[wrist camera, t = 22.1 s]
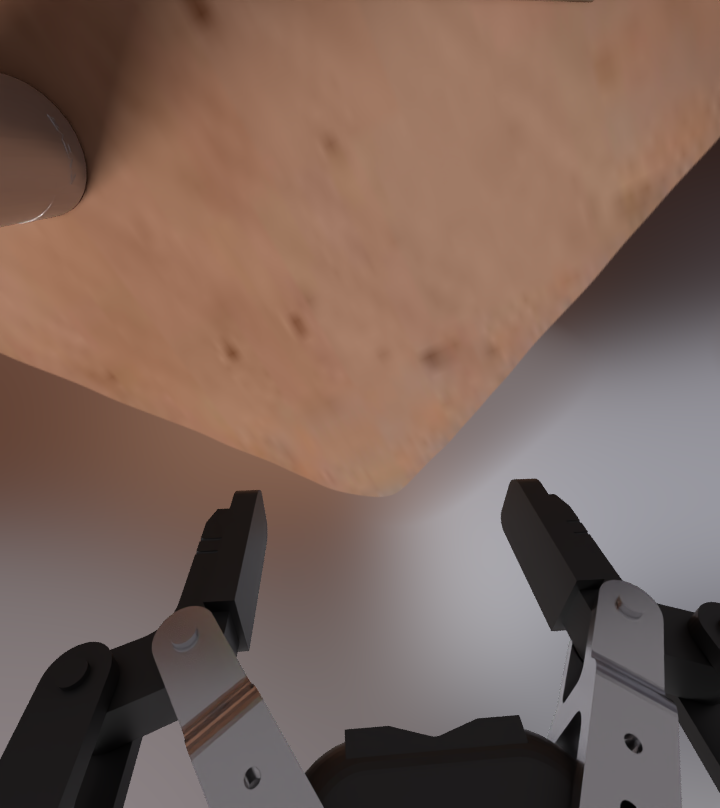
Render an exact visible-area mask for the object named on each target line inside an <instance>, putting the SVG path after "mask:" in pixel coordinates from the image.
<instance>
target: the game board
mask: <svg viewBox="0 0 720 808" xmlns="http://www.w3.org/2000/svg"><path fill="white" fill-rule="evenodd" d="M536 1H569V2H593V0H536Z"/></svg>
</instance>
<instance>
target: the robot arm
mask: <svg viewBox="0 0 720 808" xmlns="http://www.w3.org/2000/svg"><path fill="white" fill-rule="evenodd" d="M86 180H87V176H86V163H85V158H84V154H83V150H82V148H81V145H80V143H79V140H78V138H77V136H76V134H75V132H74V131H73V129H72V127H71V126H70V124H69V122H68V121H67V119H66V118H65V117H64V116H63V115H62V113H61V112H60V111H59V110H58V108H57V107H56V106H55V105H54V104H53V103H52V102H51V101H50V100H48V99H47V98H46V97H45V96H44V95H43V94H42V93H40V92H39V91H37V90H36V89H35V88H33V87H32V86H30V85H29V84H27V83H25V82H23V81H21V80H19V79H16V78H14V77H12V76H9V75H5V74H2V73H0V227H4V226H9V225H14V224H20V223H26V222H31V221H36V220H41V219H47V218H52V217H56V216H60V215H63V214H65V213H67V212H69V211H70V210H72V209H73V208H74V207H75V206H76V205H77V204H78V203H79V201H80V199H81V197H82V195H83V193H84V190H85V185H86ZM501 523H502V528H503V531H504V533H505V535H506V537H507V539H508V541H509V543H510V545H511V548H512V550H513V552H514V554H515V556H516V558H517V560H518V562H519V564H520V566H521V568H522V571H523V573H524V575H525V577H526V579H527V581H528V583H529V585H530V587H531V589H532V592H533V594H534V596H535V598H536V600H537V602H538V604H539V606H540V608H541V610H542V612H543V615H544V617H545V618H546V621H547V623H548V625H549V627H550V629H551V631H561V630H566V631H567V632H568V634H569V636H570V638H571V640H570V642H569V645H568V649H567V655H566V661H565V666H564V671H563V677H562V682H561V688H560V693H559V698H558V704H557V708H556V712H555V715H554V718H553V720H552V723H551V726H550V729H549V733H548V736H547V739H546V738H545V737H543V736H541V735H539V734H536V733H534V732H531V731H529V730H524V729H523V725H522V722H521V720H520V717H519V715H515V716H503V717H491V718H479V719H475V720H473V721H471V722H469V723H466V724H464V725H462V726H460V727H458V728H456V729H453V730H451V731H449V732H447V733H445V734H443V735H441V736H437V737H433V736H428V735H424V734H419V733H415V732H411V731H407V730H403V729H398V728H395V727H390V726H383V727H372V728H361V729H360V728H359V729H348V730H345V742H344V743H342V744H340V745H338V746H335V747H334V748H332V749H331V750H329V751H328V752H326V753H325V754H323V755H322V756H321V757H320V758H319V759H318V760H316V761H315V762H314V763H313V764H312V766H311V767H310V768H309V769H308V770H307V771H306V772H305V773H304V772H303V770H302V768H301V766H300V764H299V762H298V761H297V759H296V757H295V756H294V754H293V752H292V750H291V748H290V746H289V745H288V743H287V741H286V739H285V737H284V736H283V734H282V732H281V731H280V729H279V727H278V725H277V723H276V721H275V720H274V718H273V716H272V714H271V713H270V711H269V709H268V707H267V705H266V704H265V702H264V700H263V698H262V697H261V695H260V693H259V692H258V690H257V688H256V687H255V686H254V684H252V683H251V682H250V681H249V679H248V677H247V676H246V674H245V672H244V670H243V668H242V667H241V665H240V663H239V661H238V659H237V652H240V651H249V648H250V642H251V635H252V629H253V624H254V617H255V611H256V605H257V599H258V593H259V587H260V581H261V575H262V568H263V562H264V556H265V550H266V543H267V521H266V515H265V510H264V504H263V498H262V493H261V491H260V490H250V491H249V490H248V491H236V492H235V493H234V496H233V500H232V503H231V506H230V509H217V511H216V512H215V513H214V514H213V515H212V517H211V518H210V519H209V520H208V521H207V523H206V525H205V528H204V531H203V534H202V536H201V542H199V545H198V548H197V553H196V555H195V557H194V560H193V563H192V566H191V569H190V572H189V575H188V578H187V580H186V583H185V586H184V590H183V592H182V595H181V598H180V601H179V604H178V606H177V608H176V610H175V612H174V613H173V614H172V615H170V616H169V617H168V618H167V619H166V620H165V621H164V622H163V623H162V624H161V626H160V627H159V628H158V630H156V631H155V632H153V633H151V634H149V635H148V636H145V637H143V638H141V639H138V640H135V641H133V642H130V643H127V644H125V645H122V646H119V647H117V648H114V649H111V650H109V648H108V647H107V646H106V645H104V644H102V643H99V642H88V643H84V644H81V645H78V646H76V647H74V648H72V649H70V650H68V651H67V652H65V653H64V654H62V655H61V656H60V657H59V658H58V659H56V660H55V661H54V662H53V663H52V664H51V666H50V667H49V668H48V669H47V670H46V672H45V673H44V675H43V676H42V678H41V680H40V682H39V683H38V685H37V687H36V690H35V692H34V693H33V695H32V697H31V699H30V701H29V704H28V705H27V707H26V709H25V711H24V713H23V715H22V717H21V719H20V721H19V723H18V725H17V727H16V729H15V731H14V733H13V735H12V737H11V739H10V741H9V743H8V745H7V747H6V749H5V751H4V753H3V755H2V757H1V759H0V808H123V806H124V802H125V799H126V794H127V791H128V787H129V784H130V780H131V777H132V773H133V770H134V766H135V762H136V759H137V755H138V752H139V748H140V744H141V741H142V737H143V736H144V735H147V734H149V733H151V732H153V731H155V730H158V729H160V728H162V727H164V726H166V725H168V724H171V723H173V722H175V721H177V720H178V721H179V724H180V726H181V729H182V731H183V734H184V738H185V745H186V748H187V751H188V754H189V756H190V759H191V762H192V764H193V767H194V769H195V772H196V775H197V777H198V780H199V783H200V785H201V788H202V790H203V792H204V796H205V798H206V801H207V803H208V806H209V808H682V801H681V800H682V798H681V774H680V749H679V723H680V725H681V727H682V728H683V730H684V732H685V734H686V735H687V737H688V739H689V741H690V742H691V744H692V746H693V747H694V749H695V751H696V753H697V754H698V756H699V758H700V759H701V761H702V763H703V765H704V766H705V768H706V770H707V771H708V773H709V775H710V777H711V778H712V780H713V782H714V783H715V785H716V787H717V789H718V791H719V792H720V603H716V602H708V603H704V604H702V605H701V606H700V607H699V608H698V609H697V611H696V612H695V613H694V612H690V611H686V610H682V609H678V608H673V607H669V606H665V605H661V604H658V603H656V602H655V601H654V600H653V599H652V598H651V597H650V596H649V595H648V594H647V593H646V592H644V591H643V590H642V589H640V588H639V587H637V586H635V585H633V584H631V583H628V582H625V581H623V580H622V579H621V578H620V577H619V575H618V574H617V573H616V571H615V570H614V568H613V567H612V565H611V564H610V563H609V561H608V560H607V558H606V557H605V555H604V554H603V553H602V551H601V550H600V548H599V547H598V546H597V544H596V543H595V541H594V540H593V538H592V537H591V536H590V534H588V533H587V532H588V531H587V530H586V528H585V527H584V526H583V524H582V523H580V522H579V519H578V517H577V516H576V514H575V513H574V511H573V510H572V509H571V507H570V506H569V505H568V504H566V503H565V502H564V501H563V500H561V499H560V498H559V497H558V496H556V495H555V494H548V493H547V491H546V490H545V488H544V487H543V485H542V484H541V482H540V481H539V480H537V479H514V480H511V482H510V484H509V487H508V491H507V494H506V497H505V501H504V505H503V508H502V512H501Z"/></svg>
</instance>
